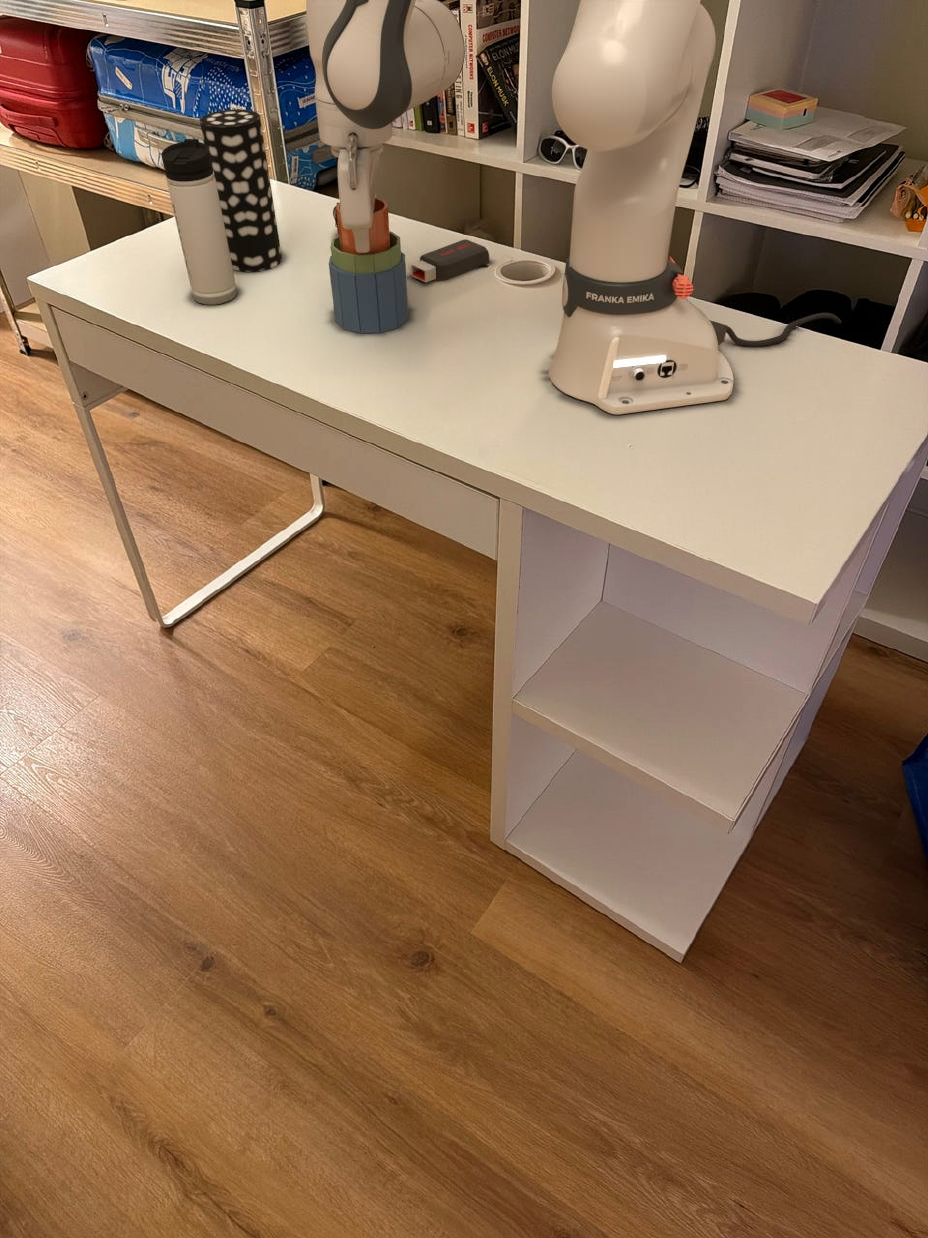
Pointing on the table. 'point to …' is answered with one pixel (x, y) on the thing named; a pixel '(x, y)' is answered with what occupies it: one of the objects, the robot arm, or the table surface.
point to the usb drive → (450, 261)
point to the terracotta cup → (377, 232)
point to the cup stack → (369, 288)
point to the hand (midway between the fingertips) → (364, 238)
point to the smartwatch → (335, 217)
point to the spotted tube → (243, 187)
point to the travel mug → (199, 221)
